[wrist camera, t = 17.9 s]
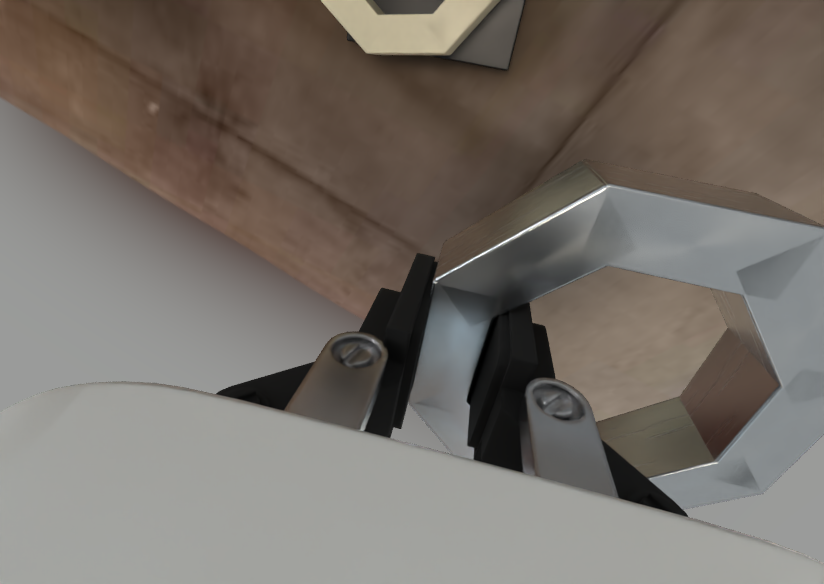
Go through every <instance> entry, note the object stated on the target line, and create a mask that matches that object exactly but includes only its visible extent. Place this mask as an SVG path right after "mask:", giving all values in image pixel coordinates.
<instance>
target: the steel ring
mask: <svg viewBox="0 0 824 584" xmlns="http://www.w3.org/2000/svg"><path fill="white" fill-rule="evenodd" d="M606 266H611V267H616V268H620V269H625V270H630V271H634V272H639V273H643V274H648V275H652V276H657V277H662V278H666V279H671V280H675V281H680V282H684V283H689V284H694V285H698V286H703V287H707V288H710V289H711V292H712V294H713V296H714V298H715V300H716V303H717V305H718V307H719V309H720V311H721V314H722V316H723V318H724V320H725V322H726V325H727V327H728V328H727V330H726V331H725V332H724V334H723V335H722V337H721V338H720V340H719V341H718V342H717V344H716V345H715V347H714V348H713V350H712V351H711V352H710V354H709V355H708V357H707V358H706V360H705V361H704V362H703V364H702V365H701V367H700V368H699V370H698V371H697V372H696V374H695V375H694V377H693V378H692V380H691V381H690V382H689V384H688V385H687V387H686V388H685V390H684V391H683V392H682V394H681V395H680V396H679V397H676V398H673V399H670V400H666V401H663V402H660V403H657V404H653V405H650V406H647V407H644V408H640V409H637V410H634V411H631V412H627V413H624V414H621V415H618V416H614V417H611V418H608V419H605V420H601V421H598V422H596V425H597V428H598V431H599V435H600V438H601V439H602V440H603V441H604V442H605V443H607V444H608V445H609V446H610V447H611V448H612V449H614V450H615V451H616V452H617V453H618V454H619V455H621V456H622V457H623V458H624V459H625V460H626V461H628V462H629V463H630V464H631V465H632V466H633V467H635V468H636V469H637V470H638V471H639V472H641V473H642V474H643V475H644V476H645V477H646V478H648V479H649V480H650V481H651V482H652V483H653V484H655V485H656V486H657V487H658V488H659V489H660V490H662V491H663V492H664V493H665V494H666V495H667V496H669V497H670V498H671V499H672V500H673V501H674V502H675V503H676V504H677V505H678V506H679V507H680V508H681V509H682V510H684V509H689V508H694V507H699V506H704V505H709V504H714V503H719V502H725V501H729V500H734V499H739V498H745V497H749V496H755V495H759V494H763V493H764V492H765V491H766V490H767V489H768V488H769V487H770V486H771V485H772V484H774V482H776V481H777V480H778V479H779V478H780V477H781V476H782V474H784V473H785V472H786V471H787V470H788V469H789V468H790V467H791V466H792V465H793V464H794V463H795V462H796V461H797V460H798V459H799V458H800V457H801V456H802V455H803V454H804V453H805V452H806V451H807V450H808V449H809V448H811V446H813V445H814V444H815V443H816V442H817V441H818V440H819V439H820V438H821V437H822V436H823V435H824V226H823V225H821V224H819V223H817V222H815V221H813V220H811V219H809V218H807V217H804V216H802V215H800V214H798V213H796V212H794V211H792V210H790V209H788V208H786V207H784V206H782V205H780V204H778V203H775V202H773V201H771V200H769V199H767V198H765V197H763V196H761V195H759V194H757V193H753V192H748V191H743V190H738V189H733V188H728V187H723V186H718V185H713V184H708V183H703V182H698V181H693V180H688V179H683V178H678V177H673V176H668V175H663V174H658V173H653V172H648V171H643V170H638V169H633V168H628V167H623V166H618V165H613V164H608V163H603V162H598V161H593V160H588V159H584V160H583V161H580V162H578V163H576V164H575V165H573V166H571V167H570V168H568V169H566V170H565V171H563V172H561V173H560V174H558V175H556V176H554V177H553V178H551V179H549V180H548V181H546V182H544V183H543V184H541V185H539V186H538V187H536V188H534V189H532V190H531V191H529V192H527V193H526V194H524V195H522V196H521V197H519V198H517V199H516V200H514V201H512V202H510V203H509V204H507V205H505V206H504V207H502V208H500V209H499V210H497V211H495V212H493V213H492V214H490V215H488V216H487V217H485V218H483V219H482V220H480V221H478V222H477V223H475V224H473V225H471V226H470V227H468V228H466V229H465V230H463V231H461V232H460V233H458V234H456V235H455V236H453V237H451V238H449V239H448V240H446V241H445V242H444V244H443V247H442V250H441V253H440V257H439V260H438V264H437V267H436V271H435V274H434V278H433V281H432V286H431V290H430V295H429V298H430V299H431V301H430V306H429V311H428V315H427V320H426V324H425V329H424V333H423V338H422V342H421V347H420V352H419V356H418V361H417V365H416V370H415V374H414V379H413V384H412V388H411V392H410V396H409V400H408V403H409V405H410V406H411V407H412V409H413V410H414V411H415V412H416V413H417V414H418V415H419V416H420V418H421V419H422V420H423V421H424V422H425V423H426V425H427V426H428V427H429V428H430V429H431V430H432V432H433V433H434V434H435V435H436V436H437V437H438V439H439V440H440V441H441V442H442V443H443V444H444V446H445V447H446V448H447V449H448V450H449V451H450V452H451V454H453V455H457V456H461V457H465V458H468V459H472V460H473V458H474V448H472V447H468V446H467V438H468V424H469V411H470V402H471V390H472V386H473V383H474V380H475V377H476V374H477V371H478V368H479V364H480V361H481V358H482V355H483V352H484V349H485V346H486V343H487V340H488V337H489V334H490V330H491V327H492V324H493V321H494V318H496V317H498V316H500V315H503V314H505V313H507V312H509V311H511V310H514V309H516V308H518V307H520V306H522V305H524V304H526V303H529V302H531V301H533V300H535V299H537V298H539V297H541V296H544V295H546V294H548V293H550V292H552V291H554V290H556V289H559V288H561V287H563V286H565V285H567V284H569V283H571V282H574V281H576V280H578V279H580V278H582V277H584V276H586V275H589V274H591V273H593V272H595V271H597V270H599V269H601V268H604V267H606Z"/></svg>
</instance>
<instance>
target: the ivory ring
mask: <svg viewBox="0 0 824 584" xmlns="http://www.w3.org/2000/svg"><path fill="white" fill-rule="evenodd" d="M321 1H322V3H323V4H324V5H325V6H326V7H327V8H328V10H329V11H330V12H331V13H332V14H333V15H334V17H335V18H336V19H337V20H338V21H339V22H340V23H341V25H342V26H343V27H344V28H345V29H346V30H347V32H348V33H349V34H350V35H351V36H352V37H353V39H354V40H355V41H356V42H357V43H358V44H359V45H360V47H361V48H362V49H363V50H364V51H365V52H366V53H368V54H375V55H451V54H452V53H453V52H454V51H455V50H456V49H457V47H458V46H459V45H460V44H461V43H462V42H463V41H464V40H465V39H466V38H467V36H468V35H469V34H470V33H471V32H472V31H473V30H474V29H475V28H476V27H477V25H478V24H479V23H480V22H481V21H482V20H483V19H484V18H485V17H486V16H487V14H488V13H489V12H490V11H491V10H492V9H493V8H494V7H495V6H496V5H497V3H498V2H499V1H500V0H444V1H443V3H442V4H441V5H440V6H439V7H438V9H437V10H436V11H435V12H434V13H433V14H388V15H385V14H384V13H383V11H382V10H381V9H380V8H379V7H378V5H377V4H376V3H375V2H374V1H373V0H321Z"/></svg>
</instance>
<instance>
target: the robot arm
mask: <svg viewBox="0 0 824 584" xmlns="http://www.w3.org/2000/svg"><path fill="white" fill-rule="evenodd" d="M434 260H435V257H433V256H428V255H424V254H419V253H417V255H416V257H415V259H414V262H413V264H412V267H411V269H410V272H409V274H408V276H407V279H406V281H405V284H404V286H403V288H402V291H401V292H398V291H394V290H389V289H385V288H381V289H380V291H379V293H378V295H377V297H376V299H375V301H374V303H373V305H372V307H371V309H370V311H369V313H368V314H367V316H366V318H365V320H364V322H363V324H362V326H361V328H360V330H359V332H346V333H341V334H338V335H336V336H334V337H333V338H331V339H330V340H329V341H328V342H327V344H326V345H325V347H324V348H323V350H322V351H321V353H320V354H319V356H318V358H317V359H316V361H315V362H312V363H309V364H305V365H302V366H298V367H295V368H292V369H288V370H285V371H282V372H278V373H275V374H271V375H268V376H265V377H261V378H258V379H254V380H251V381H248V382H244V383H241V384H237V385H234V386H231V387H228V388H226V389H223V390H221V391H219V392H218V393H217V394H212V393H207V392H203V391H198V390H193V389H189V388H184V387H178V386H171V385H165V384H157V383H143V382H126V381H122V382H99V383H86V384H78V385H72V386H66V387H61V388H56V389H52V390H49V391H46V392H43V393H39V394H36V395H34V396H32V397H29V398H27V399H25V400H22V401H20V402H18V403H16V404H14V405H12V406H10V407H8V408H6V409H5V410H3V411H1V412H0V584H824V563H822V562H820V561H818V560H815V559H813V558H811V557H809V556H806V555H804V554H802V553H800V552H797V551H794V550H791V549H789V548H786V547H783V546H781V545H778V544H775V543H772V542H770V541H767V540H764V539H761V538H757V537H754V536H751V535H747V534H743V533H741V532H737V531H734V530H730V529H727V528H723V527H721V526H717V525H714V524H710V523H707V522H704V521H701V520H697V519H693V518H689V517H688V516H687V514H686V513H685V512H684V511H683V510H682V509H681V508H680V507H679V506H678V505H677V504H676V503H675V502H674V501H673V500H672V499H671V498H670V497H669V496H667V495H666V494H665V493H664V492H663V491H662V490H660V489H659V488H658V487H657V486H656V485H655V484H653V483H652V482H651V481H650V480H649V479H648V478H646V477H645V476H644V475H643V474H642V473H641V472H639V471H638V470H637V469H636V468H635V467H633V466H632V465H631V464H630V463H629V462H628V461H626V460H625V459H624V458H623V457H622V456H621V455H619V454H618V453H617V452H616V451H615V450H614V449H612V448H611V447H610V446H609V445H608V444H607V443H605V442H604V441H603V440H602V439H601V438H600V435H599V431H598V428H597V425H596V422H595V418H594V415H593V412H592V408H591V406H590V404H589V402H588V401H587V399H586V398H585V397H584V396H583V395H582V394H581V393H580V392H579V391H578V390H576V389H575V388H574V387H572V386H571V385H569V384H567V383H565V382H563V381H560V380H557V379H555V373H554V368H553V363H552V358H551V353H550V348H549V342H548V337H547V332H546V328H545V326H543V325H539V324H535V323H532V317H531V311H530V304H529V303H526V304H524V305H522V306H520V307H518V308H516V309H514V310H511V311H509V312H507V313H505V314H503V315H500V316H498V317H496V318H494V321H493V324H492V327H491V330H490V334H489V337H488V340H487V343H486V346H485V349H484V352H483V355H482V358H481V361H480V364H479V368H478V371H477V374H476V377H475V380H474V383H473V386H472V390H471V402H470V411H469V424H468V438H467V446H468V447H472V448H474V458H473V460H472V459H468V458H465V457H461V456H457V455H453V454H449V453H446V452H441V451H438V450H434V449H430V448H426V447H422V446H419V445H415V444H411V443H407V442H403V441H399V440H395V439H392V438H390V437H391V433H392V430H393V427H395V428H399V429H401V427H402V423H403V420H404V415H405V412H406V408H407V404H408V400H409V396H410V392H411V388H412V384H413V379H414V374H415V370H416V365H417V361H418V356H419V352H420V347H421V342H422V338H423V333H424V329H425V324H426V320H427V315H428V311H429V306H430V301H431V299H430V298H429V295H430V290H431V286H432V281H433V278H434V274H435V271H436V267H437V264H438V263H437V262H434Z"/></svg>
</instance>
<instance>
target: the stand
mask: <svg viewBox="0 0 824 584" xmlns="http://www.w3.org/2000/svg"><path fill="white" fill-rule="evenodd" d="M373 1H374V2H375V3H376V4H377V5H378V7H379V8H380V9H381V10H382V11H383V13H384V14H385V15H388V14H433V13H434V12H435V11H436V10H437V9H438V7H439V6H440V5H441V4H442V3H443V1H444V0H373ZM525 1H526V0H500V1H499V2H498V3H497V5H496V6H495V7H494V8H493V9H492V10H491V11H490V12H489V13H488V14H487V16H486V17H485V18H484V19H483V20H482V21H481V22H480V23H479V24H478V25H477V27H476V28H475V29H474V30H473V31H472V32H471V33H470V34H469V35H468V36H467V38H466V39H465V40H464V41H463V42H462V43H461V44H460V45H459V46H458V47H457V49H456V50H455V51H454V52H453V53H452V54H451V55H426V56H432V57H437V58H442V59H447V60H453V61H458V62H463V63H469V64H474V65H479V66H485V67H490V68H495V69H501V70H506V71H507V70H508V69H509V65H510V61H511V57H512V53H513V49H514V45H515V41H516V37H517V33H518V29H519V25H520V21H521V17H522V13H523V9H524V5H525ZM347 40H348V41H352V42H356V41H355V40H354V39H353V37H352V36H351V35H350V34H349V33H348V32H347Z"/></svg>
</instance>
